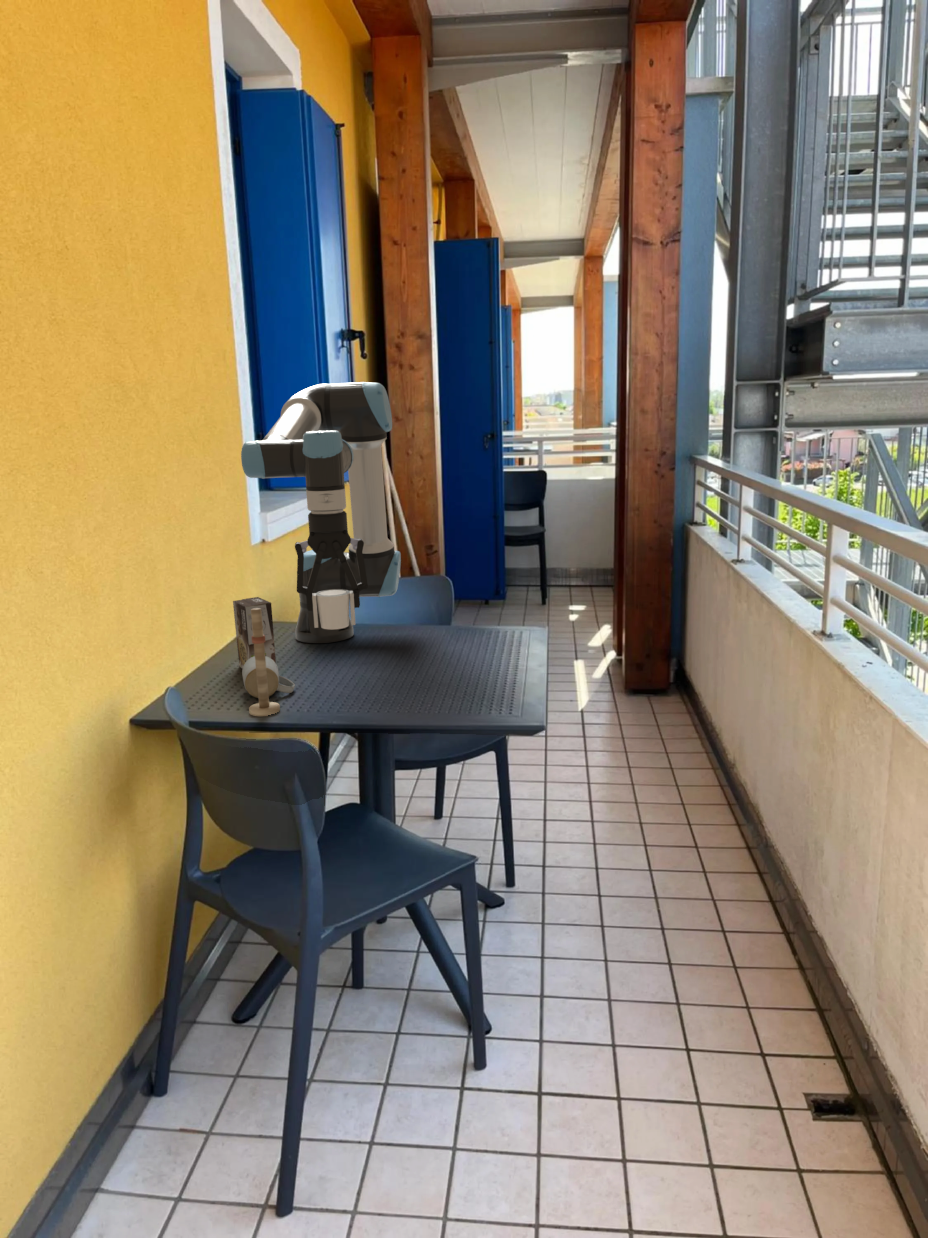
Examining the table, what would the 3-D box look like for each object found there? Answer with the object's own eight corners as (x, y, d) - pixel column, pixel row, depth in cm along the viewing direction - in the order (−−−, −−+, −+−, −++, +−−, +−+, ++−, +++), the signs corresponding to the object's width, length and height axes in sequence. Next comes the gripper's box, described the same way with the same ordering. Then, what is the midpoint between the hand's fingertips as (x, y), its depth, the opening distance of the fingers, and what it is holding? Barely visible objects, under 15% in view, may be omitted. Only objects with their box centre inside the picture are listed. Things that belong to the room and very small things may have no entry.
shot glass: (347, 620, 189) (345, 587, 187) (355, 627, 183) (353, 593, 181) (314, 624, 187) (312, 590, 185) (322, 631, 180) (319, 597, 179)
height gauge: (250, 707, 185) (241, 607, 180) (280, 705, 186) (272, 605, 181) (248, 717, 179) (239, 613, 175) (279, 715, 180) (271, 611, 175)
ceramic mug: (245, 702, 189) (242, 666, 187) (243, 690, 197) (240, 656, 195) (297, 697, 192) (294, 661, 190) (293, 685, 200) (291, 652, 198)
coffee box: (277, 670, 211) (272, 602, 207) (250, 675, 208) (244, 606, 204) (264, 661, 218) (258, 595, 215) (238, 666, 215) (232, 599, 211)
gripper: (275, 516, 174) (285, 632, 179) (378, 510, 177) (384, 625, 182) (276, 511, 181) (285, 623, 186) (375, 506, 184) (381, 617, 189)
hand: (334, 624), depth 184 cm, fingers closed on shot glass, 7 cm apart
